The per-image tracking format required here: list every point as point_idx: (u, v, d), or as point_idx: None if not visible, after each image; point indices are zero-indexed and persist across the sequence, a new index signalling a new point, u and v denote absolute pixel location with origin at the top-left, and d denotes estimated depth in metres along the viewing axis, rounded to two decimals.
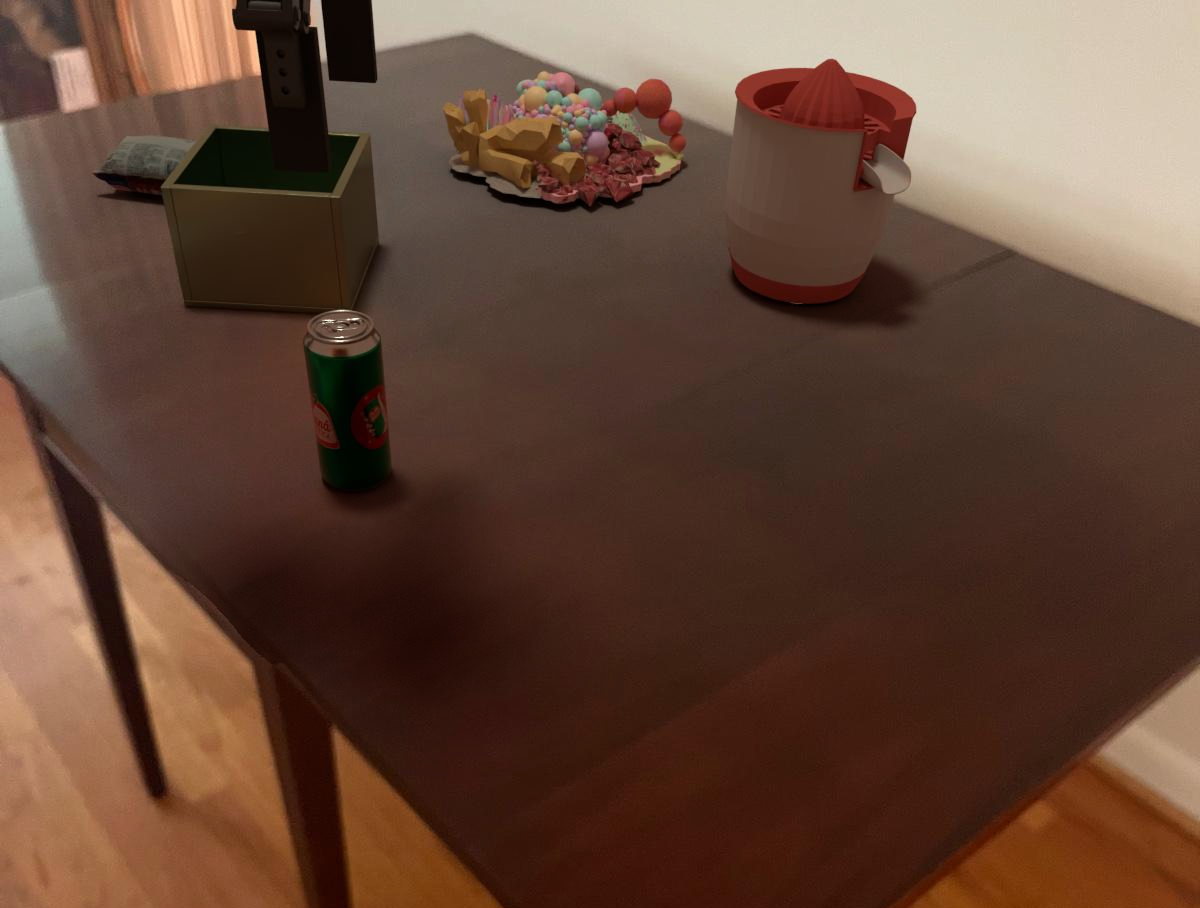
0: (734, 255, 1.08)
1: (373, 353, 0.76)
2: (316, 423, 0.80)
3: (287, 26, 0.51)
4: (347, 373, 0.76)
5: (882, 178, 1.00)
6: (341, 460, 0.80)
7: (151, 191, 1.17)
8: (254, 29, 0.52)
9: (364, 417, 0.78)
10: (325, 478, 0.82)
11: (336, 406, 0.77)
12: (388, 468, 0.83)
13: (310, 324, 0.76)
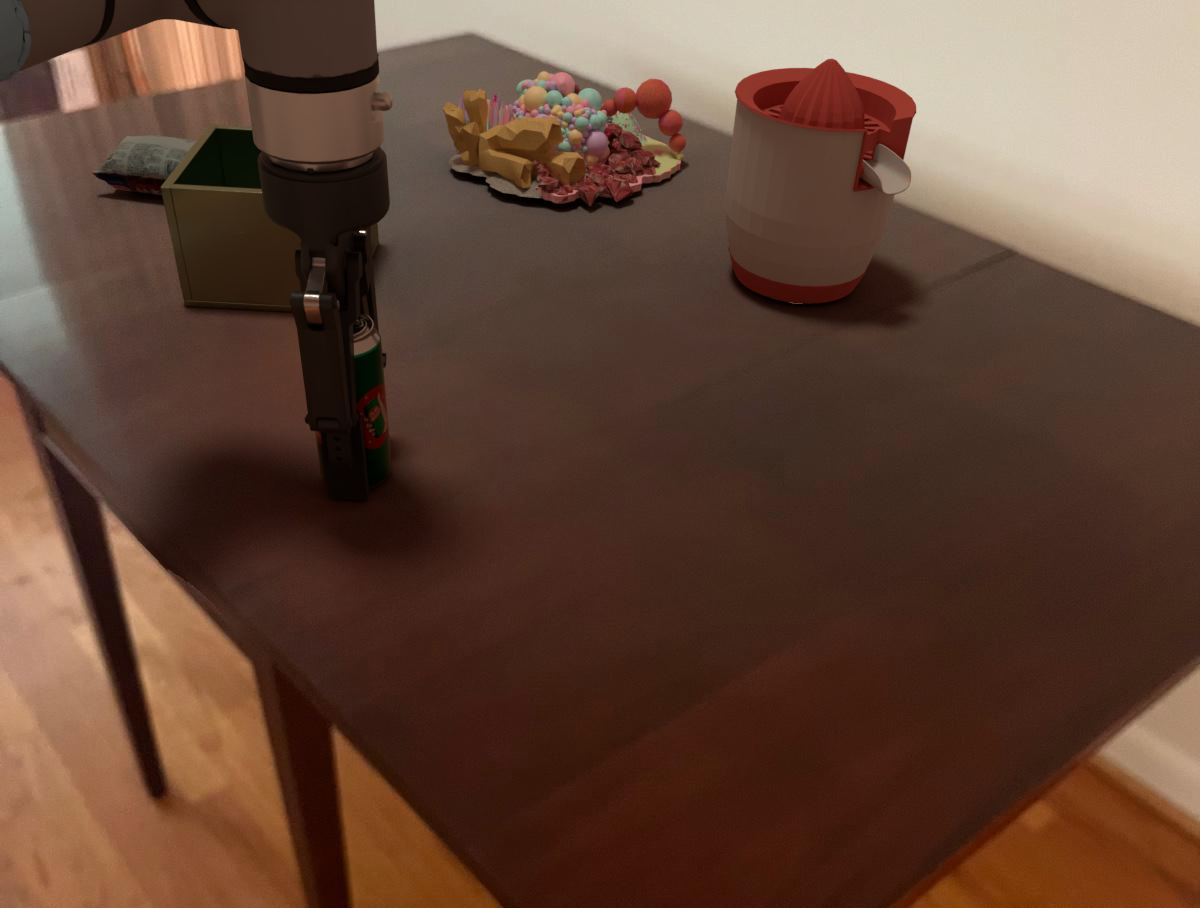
0: (734, 255, 1.08)
1: (373, 352, 0.76)
2: None
3: (343, 432, 0.75)
4: None
5: (882, 178, 1.00)
6: None
7: (151, 191, 1.17)
8: None
9: (364, 416, 0.78)
10: (325, 478, 0.82)
11: None
12: (388, 468, 0.83)
13: None
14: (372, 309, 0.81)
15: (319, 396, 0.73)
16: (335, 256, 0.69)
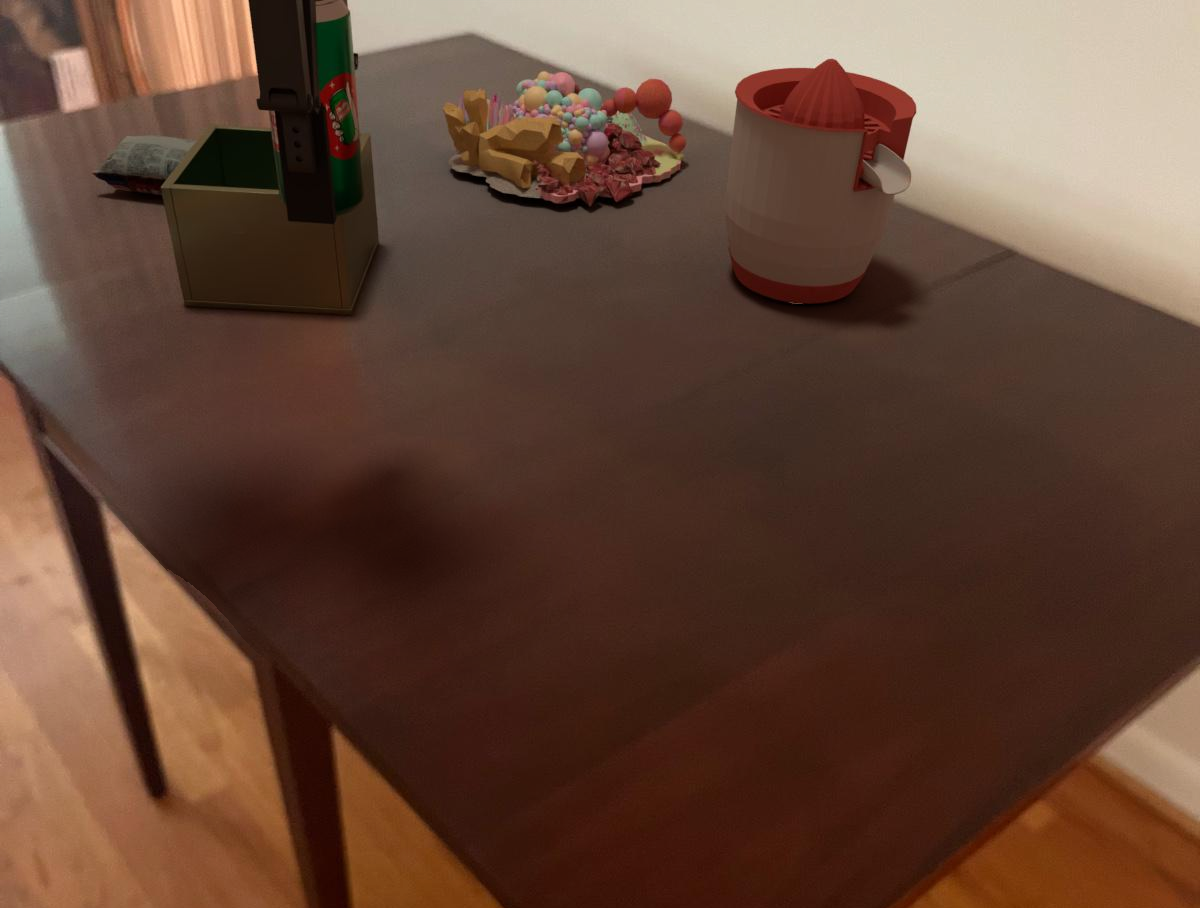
0: (734, 255, 1.08)
1: (340, 24, 0.63)
2: (273, 124, 0.67)
3: (302, 110, 0.62)
4: None
5: (882, 178, 1.00)
6: None
7: (151, 191, 1.17)
8: None
9: (330, 112, 0.66)
10: (285, 200, 0.69)
11: None
12: (360, 193, 0.70)
13: None
14: None
15: (272, 57, 0.60)
16: None
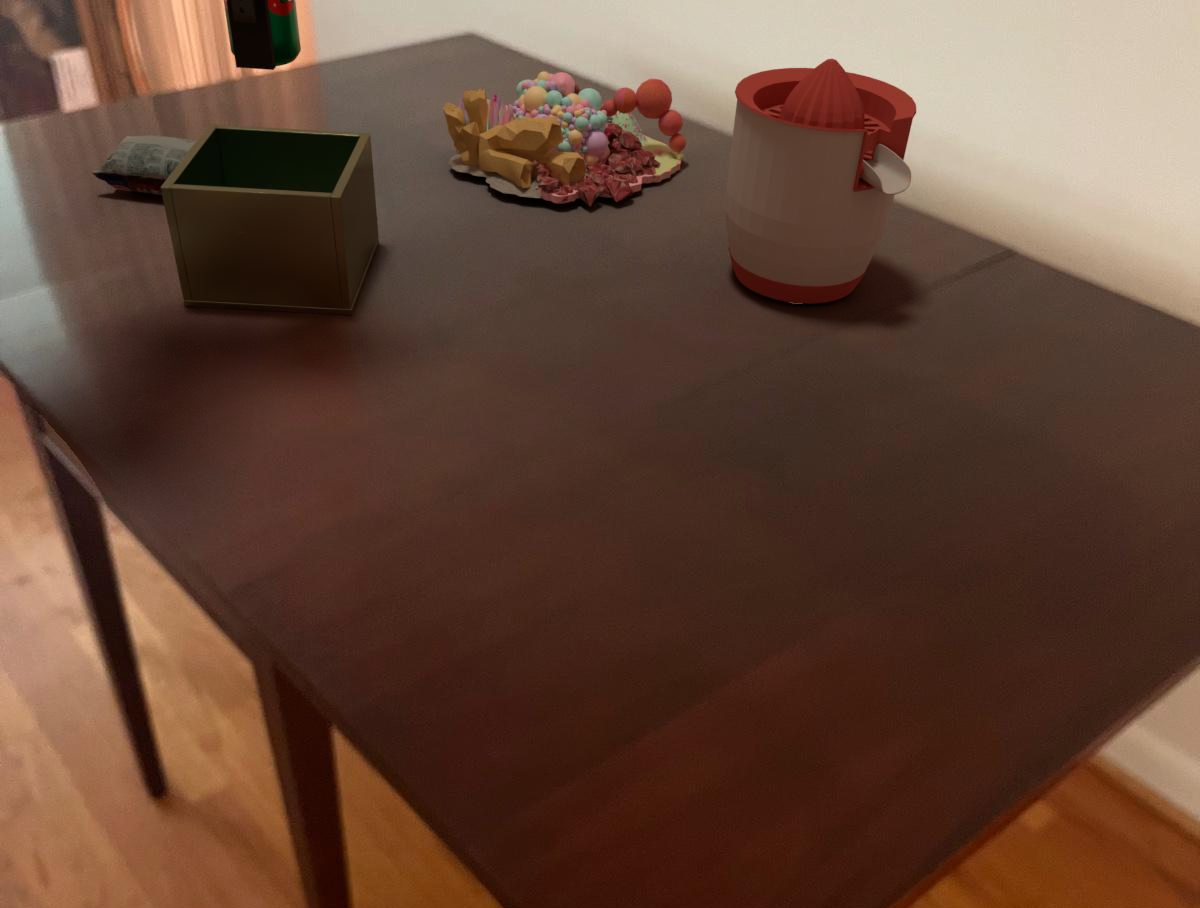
0: (734, 255, 1.08)
1: None
2: None
3: None
4: None
5: (882, 178, 1.00)
6: None
7: (151, 191, 1.17)
8: None
9: None
10: None
11: None
12: (296, 47, 0.86)
13: None
14: None
15: None
16: None
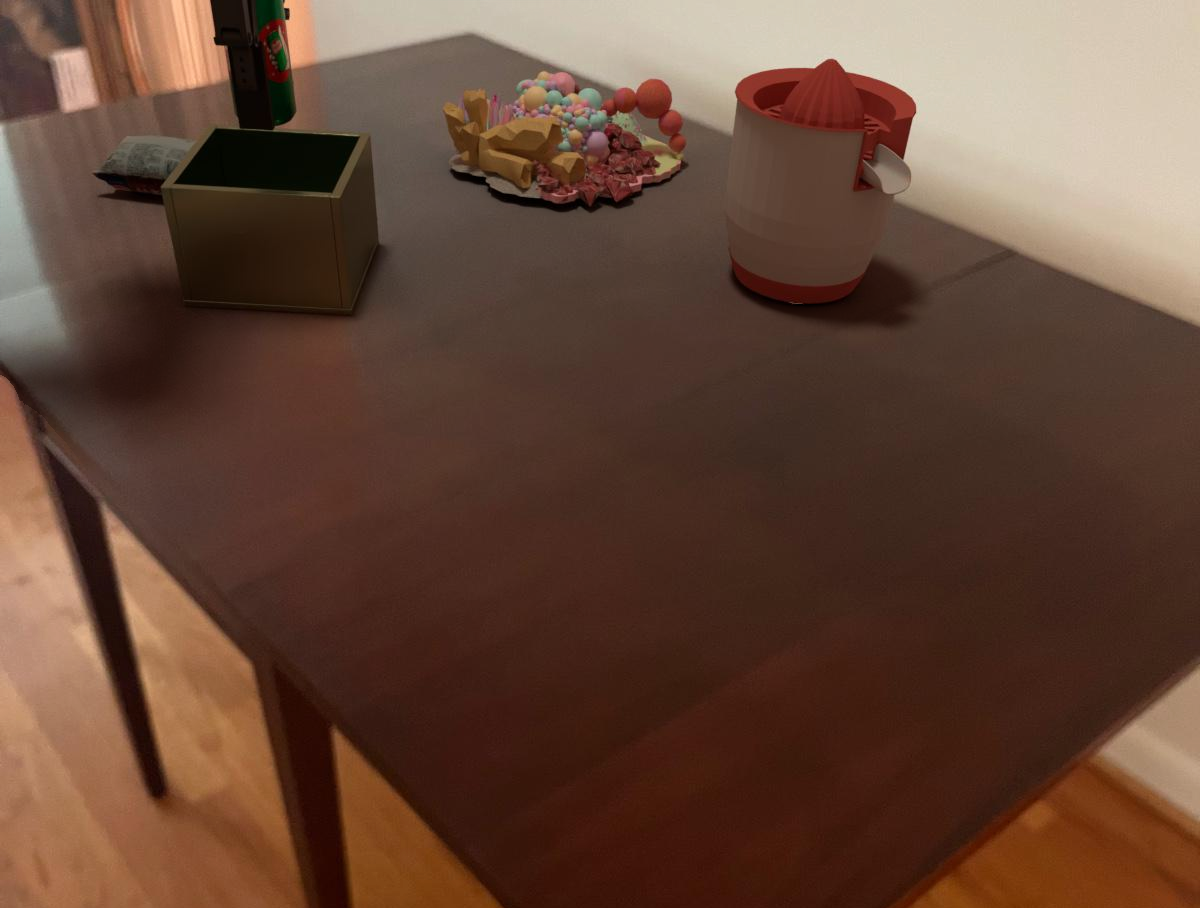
0: (734, 255, 1.08)
1: None
2: (227, 57, 0.93)
3: (244, 43, 0.88)
4: None
5: (882, 178, 1.00)
6: None
7: (151, 191, 1.17)
8: (227, 45, 0.91)
9: (267, 47, 0.92)
10: (237, 114, 0.96)
11: None
12: (292, 109, 0.97)
13: None
14: None
15: (222, 5, 0.87)
16: None
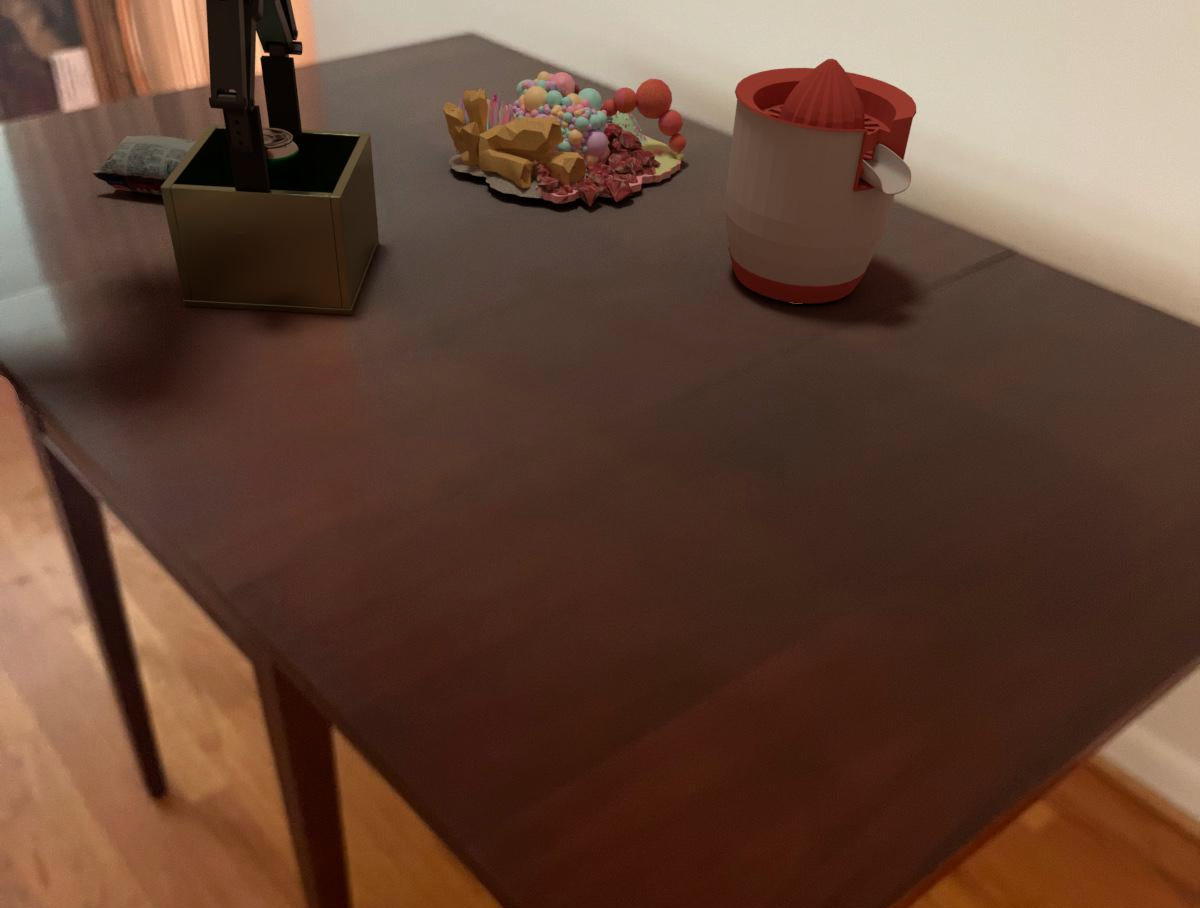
0: (734, 255, 1.08)
1: (292, 158, 0.99)
2: None
3: (240, 108, 0.88)
4: (271, 173, 0.98)
5: (882, 178, 1.00)
6: None
7: (151, 191, 1.17)
8: None
9: None
10: None
11: None
12: None
13: None
14: (288, 11, 0.99)
15: (220, 67, 0.87)
16: None
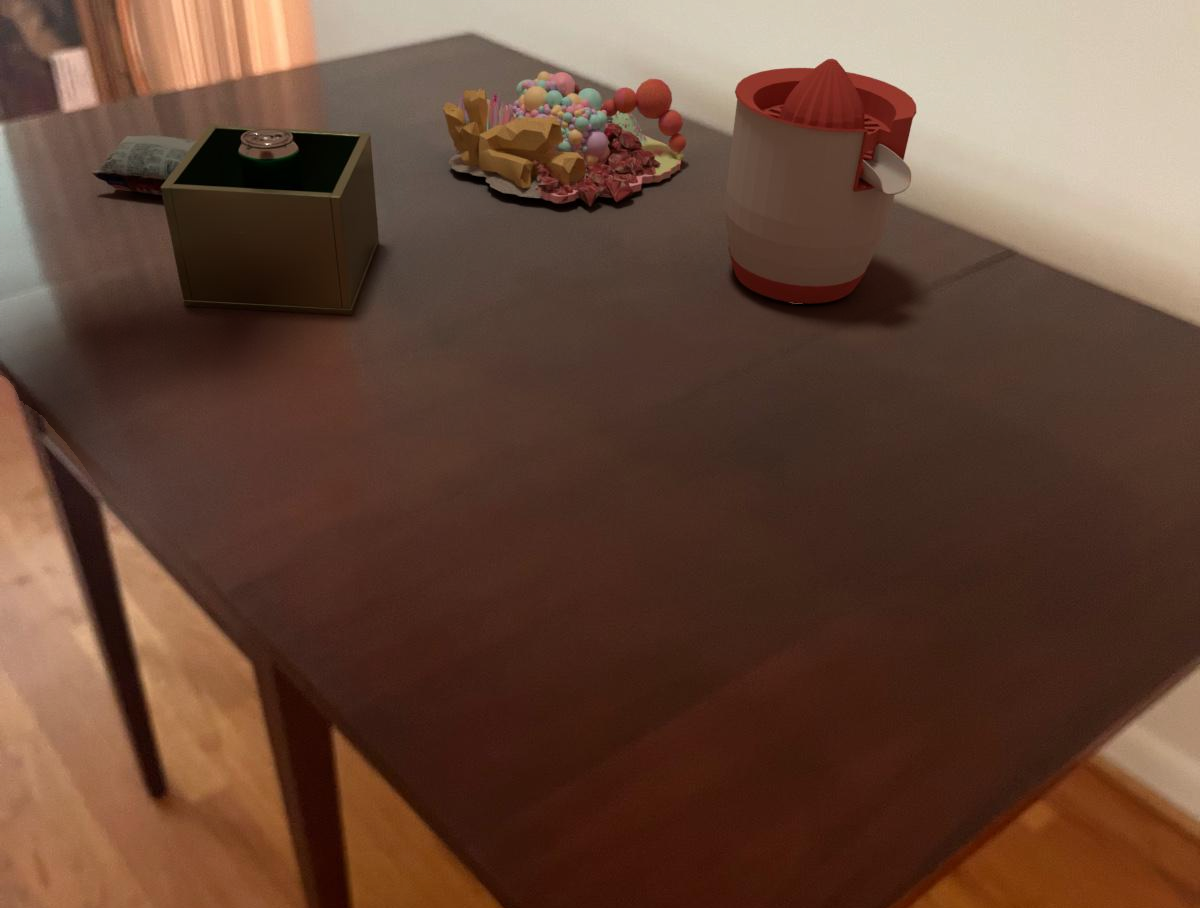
0: (734, 255, 1.08)
1: (292, 158, 0.99)
2: None
3: None
4: (272, 173, 0.98)
5: (882, 178, 1.00)
6: None
7: (151, 191, 1.17)
8: None
9: None
10: None
11: None
12: None
13: (243, 136, 0.99)
14: None
15: None
16: None
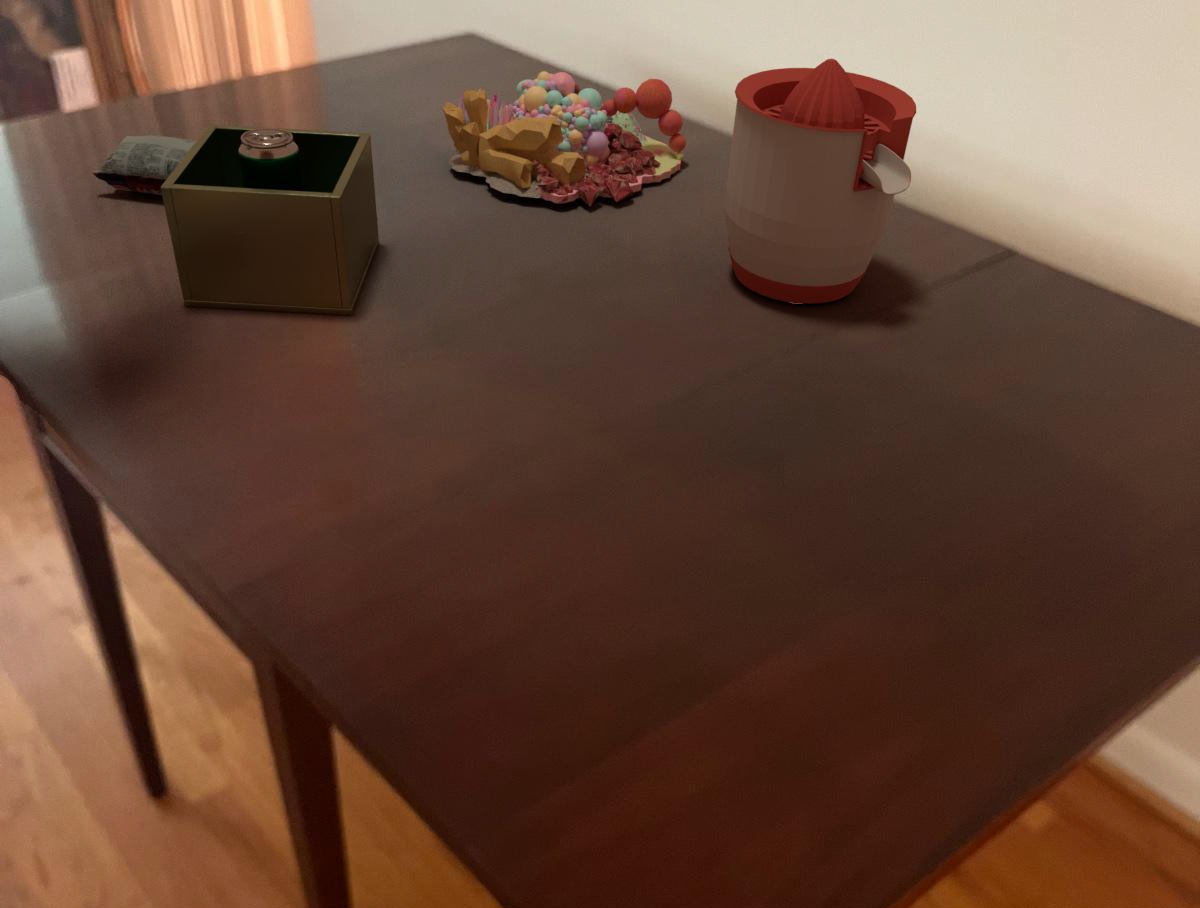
0: (734, 255, 1.08)
1: (292, 158, 0.99)
2: None
3: None
4: (272, 173, 0.98)
5: (882, 178, 1.00)
6: None
7: (151, 191, 1.17)
8: None
9: None
10: None
11: None
12: None
13: (243, 136, 0.99)
14: None
15: None
16: None
